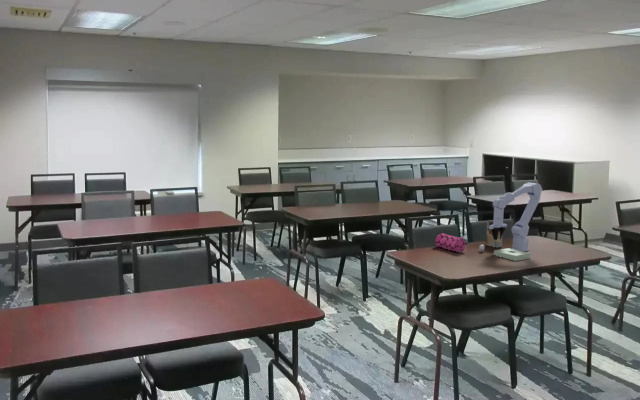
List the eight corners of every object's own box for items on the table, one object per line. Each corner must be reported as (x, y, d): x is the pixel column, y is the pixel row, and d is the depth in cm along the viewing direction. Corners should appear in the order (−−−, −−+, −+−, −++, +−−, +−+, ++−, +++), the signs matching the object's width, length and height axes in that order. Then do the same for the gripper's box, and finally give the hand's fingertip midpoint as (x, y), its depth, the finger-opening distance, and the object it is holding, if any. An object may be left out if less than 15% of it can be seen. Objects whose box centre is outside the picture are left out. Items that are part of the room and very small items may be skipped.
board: (508, 252, 354) (508, 248, 353) (530, 258, 341) (530, 253, 340) (493, 255, 346) (493, 250, 346) (515, 260, 333) (515, 255, 333)
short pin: (481, 250, 358) (481, 244, 358) (485, 251, 356) (485, 245, 355) (478, 251, 357) (478, 245, 356) (481, 252, 354) (482, 246, 354)
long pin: (496, 241, 358) (497, 230, 357) (500, 242, 355) (501, 231, 354) (493, 242, 356) (494, 231, 355) (497, 243, 354) (498, 232, 353)
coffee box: (502, 247, 370) (503, 222, 368) (494, 247, 368) (496, 223, 365) (492, 244, 379) (494, 220, 376) (485, 245, 376) (486, 221, 374)
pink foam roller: (467, 252, 354) (468, 236, 353) (456, 253, 349) (457, 238, 348) (443, 245, 372) (444, 230, 371) (432, 247, 367) (433, 232, 366)
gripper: (500, 216, 361) (499, 237, 363) (485, 218, 353) (484, 239, 355) (510, 217, 355) (508, 239, 357) (494, 219, 347) (493, 241, 349)
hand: (497, 239), depth 356 cm, fingers closed on long pin, 3 cm apart
